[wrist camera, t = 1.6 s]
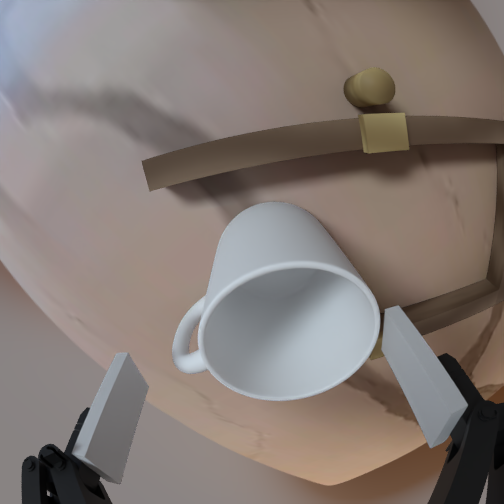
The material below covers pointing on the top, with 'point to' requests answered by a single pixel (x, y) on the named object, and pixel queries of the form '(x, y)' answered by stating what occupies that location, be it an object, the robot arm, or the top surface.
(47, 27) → the top surface
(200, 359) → the cup
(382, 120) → the track
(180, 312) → the top surface
